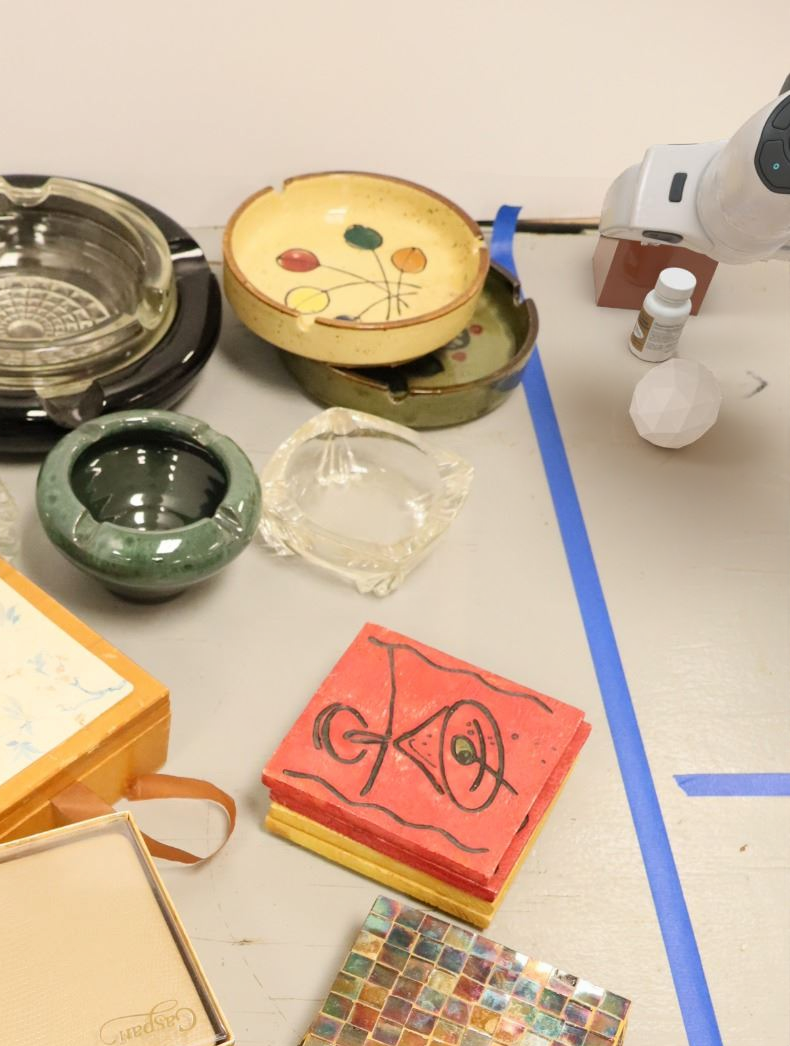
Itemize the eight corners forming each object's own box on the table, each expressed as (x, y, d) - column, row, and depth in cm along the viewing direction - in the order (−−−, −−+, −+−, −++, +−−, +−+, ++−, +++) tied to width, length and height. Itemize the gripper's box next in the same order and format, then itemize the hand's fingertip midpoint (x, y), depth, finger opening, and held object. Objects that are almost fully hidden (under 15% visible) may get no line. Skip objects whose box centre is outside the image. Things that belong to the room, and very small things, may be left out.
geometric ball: (670, 455, 136) (748, 406, 131) (644, 473, 131) (725, 422, 125) (629, 386, 136) (706, 334, 130) (601, 401, 130) (680, 347, 125)
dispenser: (689, 268, 148) (730, 165, 138) (696, 316, 143) (739, 213, 134) (592, 259, 148) (626, 155, 139) (596, 306, 144) (632, 203, 135)
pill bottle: (626, 332, 142) (653, 261, 135) (671, 337, 142) (700, 266, 135) (628, 360, 139) (655, 289, 133) (673, 365, 139) (703, 295, 133)
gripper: (896, 176, 111) (835, 222, 125) (630, 141, 113) (598, 190, 127) (873, 262, 113) (816, 298, 126) (610, 226, 115) (581, 265, 128)
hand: (704, 243), depth 126 cm, fingers open, 8 cm apart
